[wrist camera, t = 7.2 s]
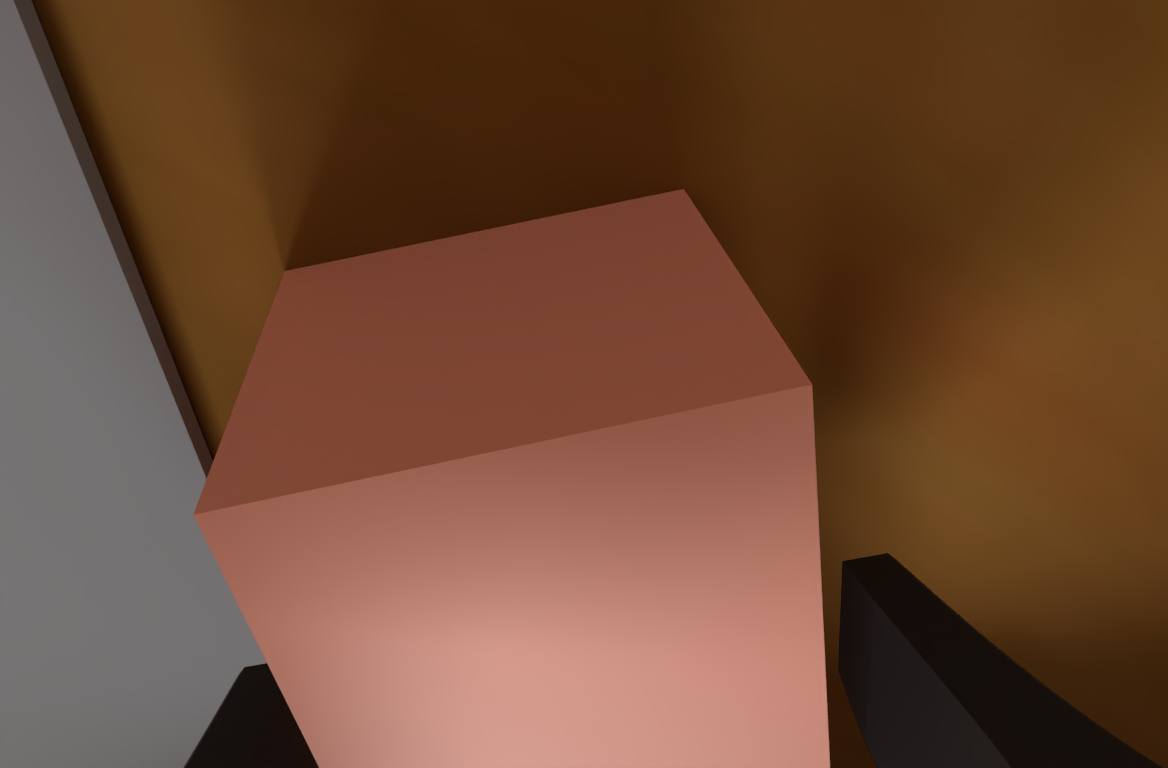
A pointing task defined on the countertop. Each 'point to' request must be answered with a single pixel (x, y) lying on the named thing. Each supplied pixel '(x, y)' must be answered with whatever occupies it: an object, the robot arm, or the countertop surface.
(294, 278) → the plain pink rectangular block
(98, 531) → the mat
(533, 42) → the countertop surface
